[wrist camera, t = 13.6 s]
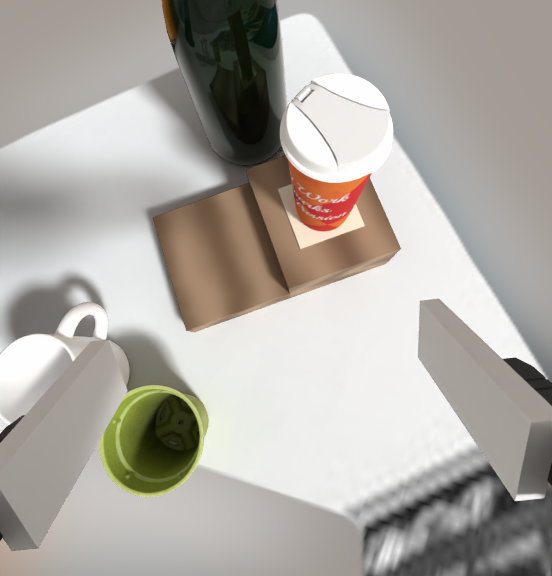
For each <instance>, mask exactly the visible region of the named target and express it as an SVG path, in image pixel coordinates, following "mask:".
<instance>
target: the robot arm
mask: <svg viewBox="0 0 552 576" xmlns="http://www.w3.org/2000/svg"><path fill="white" fill-rule="evenodd" d="M418 358H419V359H420V361H421V362H422V364H423V365H424V367H425V368H426V370H427V371H428V373H429V374H430V376H431V377H432V379H433V380H434V382H435V383H436V385H437V386H438V387H439V389H440V390H441V392H442V393H443V395H444V396H445V398H446V399H447V401H448V402H449V404H450V405H451V407H452V408H453V410H454V411H455V413H456V414H457V416H458V417H459V419H460V420H461V422H462V423H463V425H464V426H465V428H466V429H467V430H468V432H469V433H470V435H471V436H472V438H473V439H474V441H475V442H476V444H477V445H478V447H479V448H480V450H481V451H482V453H483V454H484V456H485V457H486V459H487V460H488V462H489V463H490V465H491V466H492V468H493V469H494V471H495V472H496V473H497V475H498V476H499V478H500V479H501V481H502V482H503V484H504V485H505V487H506V488H507V490H508V491H509V493H510V494H511V496H512V497H513V499H514V500H515V501H519V500H530V499H540V498H545V494H546V490H547V486H548V482H549V483H550V484H551V485H552V383H551V382H550V381H549V380H546V379H545V377H544V376H543V375H542V374H541V373H540V372H539V371H537V370H536V369H535V368H534V367H533V366H531V365H529V364H527V363H525V362H523V361H521V360H519V359H517V358H507V359H502V358H501V357H500V356H499V355H498V354H496V353H495V352H494V351H493V350H492V349H491V348H490V347H489V346H488V345H487V344H486V343H485V342H484V341H483V340H482V339H481V338H480V337H479V336H478V335H477V334H475V333H474V332H473V331H472V330H471V329H470V328H469V327H468V326H467V325H466V324H465V323H464V322H463V321H462V320H461V319H460V318H459V317H458V316H457V315H455V314H454V313H453V312H452V311H451V310H450V309H449V308H448V307H447V306H446V305H445V304H444V303H443V302H442V301H441V300H440V299H432V300H424V301H420V314H419V342H418ZM126 393H127V388H126V385H125V382H124V380H123V377H122V374H121V372H120V369H119V366H118V364H117V361H116V358H115V356H114V353H113V350H112V348H111V345H110V342H109V340H108V339H106V340H98V341H91V342H90V343H89V344H88V345H87V346H86V347H85V348H84V350H83V351H82V352H81V353H80V354H79V355H78V356H77V357H76V359H75V360H74V361H73V362H72V363H71V364H70V365H69V366H68V368H67V369H66V370H65V371H64V372H63V373H62V374H61V375H60V377H59V378H58V379H57V380H56V381H55V382H54V383H53V384H52V386H51V387H50V388H49V389H48V390H47V391H46V392H45V393H44V395H43V396H42V397H41V398H40V399H39V400H38V401H37V402H36V404H35V405H34V406H33V407H32V408H31V409H30V410H29V411H28V413H27V414H26V415H22V416H21V417H19V418H18V419H17V420H15V421H14V422H13V423H11V424H10V425H9V426H7V427H6V428H5V429H4V430H3V431H2V432H1V433H0V540H1V539H2V538H3V539H4V540H5V542H6V543H7V545H8V546H9V548H10V549H11V551H16V550H26V549H36V548H39V546H40V544H41V542H42V541H43V539H44V537H45V535H46V534H47V532H48V530H49V528H50V527H51V525H52V523H53V521H54V519H55V518H56V516H57V514H58V512H59V511H60V509H61V507H62V505H63V504H64V502H65V500H66V498H67V497H68V495H69V493H70V491H71V490H72V488H73V486H74V484H75V483H76V481H77V479H78V477H79V476H80V474H81V472H82V470H83V469H84V467H85V465H86V463H87V461H88V460H89V458H90V456H91V454H92V453H93V451H94V449H95V447H96V446H97V444H98V442H99V440H100V439H101V437H102V435H103V433H104V432H105V430H106V428H107V426H108V425H109V423H110V421H111V419H112V418H113V416H114V414H115V412H116V410H117V409H118V407H119V405H120V403H121V402H122V400H123V398H124V396H125V395H126ZM550 576H552V566H551V575H550Z"/></svg>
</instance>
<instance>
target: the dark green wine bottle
mask: <svg viewBox="0 0 552 576" xmlns="http://www.w3.org/2000/svg"><path fill="white" fill-rule="evenodd" d="M162 7H163V13H164V18H165V23H166V28H167V33H168V36H169V39H170V42H171V45H172V47H173V51H174V53H175V56H176V60H177V62H178V65H179V67H180V70H181V73H182V75H183V78H184V80H185V83H186V85H187V88H188V91H189V93H190V96H191V98H192V101H193V103H194V106H195V108H196V111H197V114H198V116H199V119H200V121H201V124H202V126H203V128H204V131H205V133H206V136H207V138H208V140H209V142H210V144H211V146H212V148H213V149H214V151H215V152H216V153H217V154H218V155H219V156H220V157H222V158H223V159H225V160H226V161H229V162H232V163H234V164H240V165H252V164H257V163H260V162H263V161H265V160H267V159H268V158H270V157H272V156H273V155H274V154H275V153H276V152H277V151H278V150H279V149H280V147H281V146H282V145H281V141H280V124H281V120H282V117H283V114H284V112H285V110H286V108H287V95H286V82H285V69H284V56H283V44H282V34H281V26H280V19H279V10H278V5H277V0H162Z"/></svg>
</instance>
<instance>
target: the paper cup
mask: <svg viewBox="0 0 552 576" xmlns="http://www.w3.org/2000/svg"><path fill="white" fill-rule="evenodd" d="M392 137H393V124H392V119H391V116H390V111H389V107H388V104H387V102H386V100H385V98H384V97H383V95H382V93H381V92H380V91H379V90H378V89H377V88H376V87H375V86H374V85H372V84H371V83H370V82H368V81H366V80H365V79H362V78H360V77H358V76H354V75H350V74H342V73H340V74H328V75H324V76H321V77H318V78H316V79H313V80H312V81H311V83H310V84H309V85H308V86H305V87H304V88H303V89H302V90H301V91H300V92H299V93H298V94H297V95H296V96H295V98H294V99H293V100H292V101H291V102H290V103H289V105H288V107H287V108H286V110H285V112H284V114H283V117H282V120H281V124H280V141H281V145H282V148H283V151H284V153H285V155H286V157H287V158H288V163H289V170H290V176H291V182H292V188H293V194H294V200H295V205H296V210H297V213H298V216H299V218H300V220H301V221H302V222H303V223H304V224H305V225H306V226H307V227H309V228H310V229H312V230H315V231H321V232H325V231H331V230H334V229H336V228H338V227H339V226H340V225H342V224H343V223H344V222H345V220H346V219H347V217H348V216H349V214H350V212H351V211H352V209H353V207H354V205H355V203H356V202H357V200H358V198H359V196H360V194H361V192H362V190H363V189H364V187H365V185H366V183H367V181H368V179H369V177H370V175H371V174H372V172H375V171H376V170H377V169H378V168H379V167H380V166H381V165H382V164H383V163H384V161H385V160H386V159H387V157H388V155H389V153H390V152H391V145H392Z"/></svg>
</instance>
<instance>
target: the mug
mask: <svg viewBox="0 0 552 576" xmlns="http://www.w3.org/2000/svg"><path fill="white" fill-rule="evenodd" d="M87 315H92V316H93V317H94V319H95V329H94V333H93V336H92V337H81V336H73V335H74V332H75V329H76V327H77V325H78V323H79V322H80V321H81V319H82V318H84V317H85V316H87ZM107 333H108V316H107V313H106V311H105V310H104V309H103V308H102V307H101V306H100V305H98V304H96V303H92V302H85V303H81V304H79V305H77V306H75V307H73V308H72V309H71V310H69V311H68V312H67V313H66V315H65V316H64V317H63V319H62V320H61V322H60V324H59V325H58V327H57V329H56V332H55V334H31V335H26V336H24V337H21V338H19V339H17V340H15V341H14V342H12V343H11V344H9V345H8V346H7V347H6V348H5V349H4V350H3V351H2V352H1V353H0V419H1V420H3V421H4V422H5V423H7V424H8V425H10V424H11V423H13V422H14V421H15V420H17V419H18V418H19V417H21V416H22V415H26V414H27V413H28V411H29V410H30V409H31V408H32V407H33V406H34V405H35V404H36V402H37V401H38V400H39V399H40V398H41V397H42V396H43V395H44V393H45V392H46V391H47V390H48V389H49V388H50V387H51V386H52V384H53V383H54V382H55V381H56V380H57V379H58V378H59V377H60V375H61V374H62V373H63V372H64V371H65V370H66V369H67V368H68V366H69V365H70V364H71V363H72V362H73V361H74V360H75V359H76V357H77V356H78V355H79V354H80V353H81V352H82V351H83V350H84V348H85V347H86V346H87V345H88V344H89V343H90V342H91V341H98V340H106V337H107ZM109 342H110V345H111V348H112V350H113V353H114V356H115V358H116V361H117V364H118V366H119V369H120V372H121V374H122V377H123V380H124V382H125V385H126V386H127V384H128V380H129V374H130V368H129V362H128V359H127V357H126V355H125V353H124V351H123V350H122V349H121V348H120V347H119V346H118V345H117V344H115V343H114V342H112V341H110V340H109Z"/></svg>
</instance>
